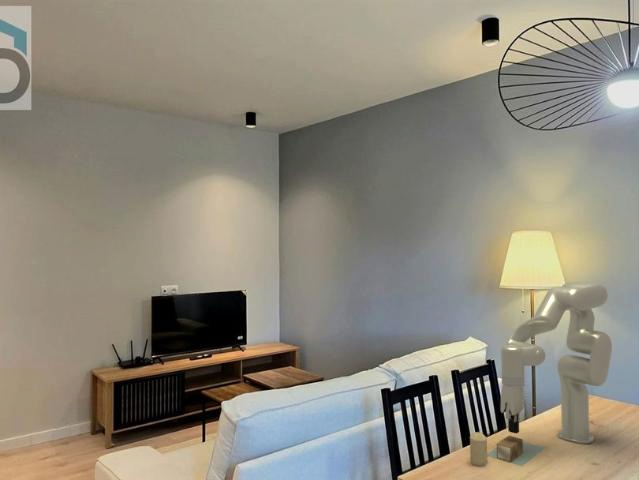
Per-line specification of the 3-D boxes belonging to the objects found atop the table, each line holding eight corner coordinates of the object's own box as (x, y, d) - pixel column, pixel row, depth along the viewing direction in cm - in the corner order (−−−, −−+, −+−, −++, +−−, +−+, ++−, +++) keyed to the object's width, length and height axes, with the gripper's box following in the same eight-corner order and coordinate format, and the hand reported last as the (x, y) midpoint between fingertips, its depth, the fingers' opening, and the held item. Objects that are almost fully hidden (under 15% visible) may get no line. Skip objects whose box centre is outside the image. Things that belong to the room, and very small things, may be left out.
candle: (488, 466, 165) (487, 436, 165) (471, 465, 166) (470, 435, 166) (486, 459, 170) (485, 431, 171) (469, 458, 172) (469, 430, 172)
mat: (510, 439, 188) (510, 438, 188) (545, 449, 179) (545, 447, 179) (485, 456, 173) (485, 455, 173) (522, 468, 164) (522, 466, 164)
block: (508, 435, 178) (496, 443, 171) (522, 439, 174) (510, 447, 167) (509, 449, 178) (496, 458, 170) (522, 453, 174) (511, 462, 167)
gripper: (511, 374, 183) (512, 424, 183) (493, 382, 173) (494, 435, 172) (531, 378, 178) (532, 429, 178) (514, 386, 167) (515, 440, 167)
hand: (513, 432), depth 175 cm, fingers closed
